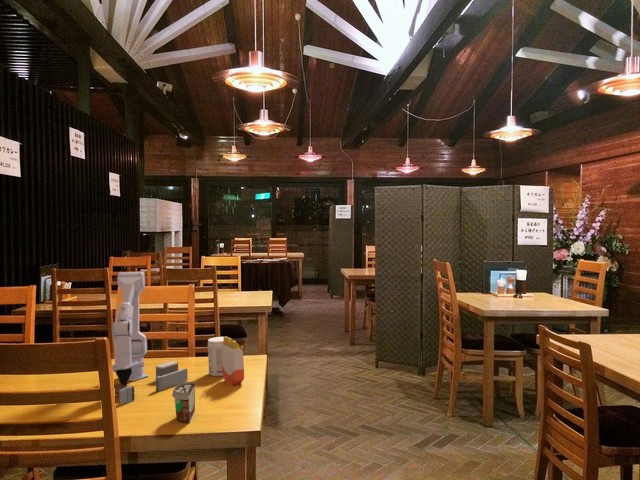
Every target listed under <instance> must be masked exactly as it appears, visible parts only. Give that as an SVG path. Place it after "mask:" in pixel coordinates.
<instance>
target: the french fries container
mask: <svg viewBox="0 0 640 480" xmlns="http://www.w3.org/2000/svg"><path fill="white" fill-rule="evenodd" d="M223 337H224V341H223V344H222V375H223V376H222V377H223V380H224V382H225V383H226V384H229V385H230V386H235V385H238V384H239V385H240V384H242V383H243V381H244V380H245V365H244V362H245V361H244V360H245V359H244V351H243V350H244V346H243V345H241V346H240V344H239V343H237V342H238V341H236V340H234V339H233V338H230V337H228V336H227V335H226V336H223ZM229 338H230V341H229Z"/></svg>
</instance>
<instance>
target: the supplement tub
mask: <svg viewBox="0 0 640 480" xmlns="http://www.w3.org/2000/svg"><path fill="white" fill-rule="evenodd" d="M224 337H225V336H216V337H211V338H208V340H207V355H208V357H207V358H208V359H207V361H208V362H207V363H208V375H210V376H212V377H223V375H222V344H223V341H224ZM230 339H231V337H229V341H230Z"/></svg>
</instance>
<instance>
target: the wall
mask: <svg viewBox="0 0 640 480" xmlns="http://www.w3.org/2000/svg"><path fill="white" fill-rule="evenodd" d="M185 382H188V368H187V367H186V368H182V369H178V371H175V372H172V373H169V374H166V375H163V376H158V377H156V376H155V391H156V392H162V391H163V390H166V389H170V388H172V387H175V386H177V385H179V384H181V383H185ZM132 402H133V401H132V387H131V386H130V385H127V387H124V389H121V390H119V405H121V406H122V405H125V404H128V403H132Z"/></svg>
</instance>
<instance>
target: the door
mask: <svg viewBox="0 0 640 480" xmlns="http://www.w3.org/2000/svg"><path fill="white" fill-rule="evenodd" d="M113 383H114V382H113ZM127 386H128V385H127ZM127 386H125V385H121V384H119V383H117V382H116V383H114V388H115V395H116V397H115V398H119V390H121V389H124V387H127ZM130 387H132V402H133V401H135V386H134V385H131V386H130ZM119 399H120V398H119Z"/></svg>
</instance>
